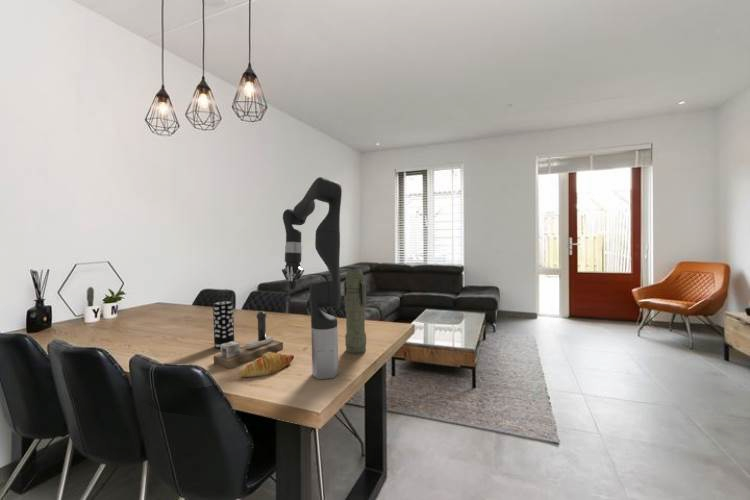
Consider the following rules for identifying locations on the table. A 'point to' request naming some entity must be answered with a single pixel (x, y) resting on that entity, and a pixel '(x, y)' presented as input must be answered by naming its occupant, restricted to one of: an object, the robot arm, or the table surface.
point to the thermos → (355, 311)
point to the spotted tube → (223, 323)
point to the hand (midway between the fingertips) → (292, 289)
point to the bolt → (260, 332)
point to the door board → (243, 353)
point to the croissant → (266, 364)
